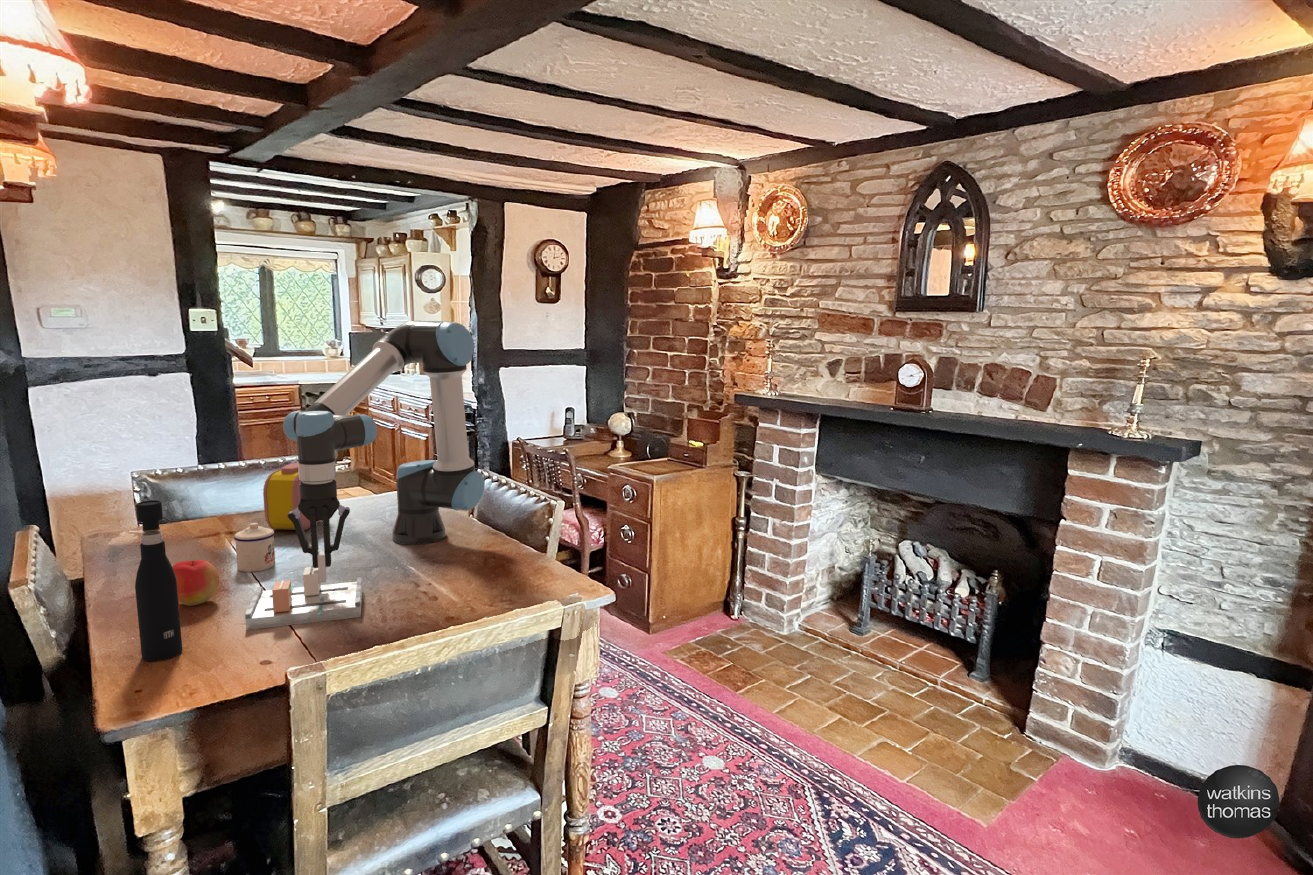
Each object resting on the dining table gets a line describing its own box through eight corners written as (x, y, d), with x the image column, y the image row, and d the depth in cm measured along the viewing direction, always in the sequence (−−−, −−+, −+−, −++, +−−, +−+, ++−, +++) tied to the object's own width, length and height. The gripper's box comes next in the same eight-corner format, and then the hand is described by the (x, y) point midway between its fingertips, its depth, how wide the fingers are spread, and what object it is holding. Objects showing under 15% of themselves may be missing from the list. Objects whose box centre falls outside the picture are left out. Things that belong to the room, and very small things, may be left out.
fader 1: (292, 602, 154) (290, 579, 153) (289, 610, 149) (288, 587, 149) (276, 603, 153) (275, 580, 152) (273, 612, 148) (272, 589, 147)
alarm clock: (299, 535, 209) (296, 472, 206) (263, 534, 209) (258, 471, 206) (329, 518, 227) (326, 460, 224) (295, 517, 227) (292, 459, 224)
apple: (182, 615, 152) (178, 571, 150) (161, 605, 157) (157, 562, 155) (228, 601, 160) (225, 559, 158) (207, 592, 165) (204, 551, 163)
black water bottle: (155, 646, 137) (141, 498, 132) (189, 646, 138) (177, 498, 133) (134, 662, 131) (118, 507, 126) (170, 661, 131) (156, 507, 127)
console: (362, 587, 170) (361, 574, 170) (360, 620, 151) (359, 605, 151) (259, 597, 162) (259, 583, 162) (244, 634, 143) (243, 618, 143)
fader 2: (320, 586, 163) (319, 565, 162) (319, 594, 159) (317, 572, 158) (306, 587, 162) (305, 566, 161) (304, 595, 157) (303, 573, 157)
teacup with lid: (273, 570, 180) (271, 526, 178) (233, 574, 176) (229, 529, 174) (279, 555, 191) (277, 514, 189) (241, 559, 187) (238, 517, 185)
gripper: (349, 475, 163) (354, 571, 166) (287, 478, 158) (292, 577, 162) (348, 482, 156) (353, 582, 160) (283, 485, 151) (289, 589, 155)
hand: (322, 580), depth 161 cm, fingers closed
